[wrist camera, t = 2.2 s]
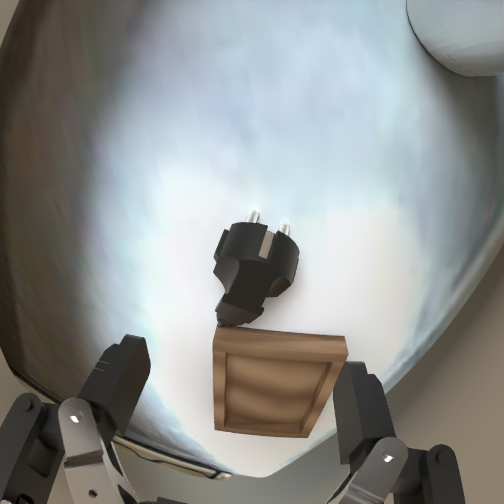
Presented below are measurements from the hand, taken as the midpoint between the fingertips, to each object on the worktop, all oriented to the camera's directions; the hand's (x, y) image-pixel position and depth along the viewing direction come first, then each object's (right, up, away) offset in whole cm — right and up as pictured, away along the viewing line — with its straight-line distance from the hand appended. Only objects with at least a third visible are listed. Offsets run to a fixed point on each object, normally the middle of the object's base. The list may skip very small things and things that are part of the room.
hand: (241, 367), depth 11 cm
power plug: (0, +3, +14) cm, 14 cm away
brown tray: (+3, -11, +20) cm, 23 cm away
